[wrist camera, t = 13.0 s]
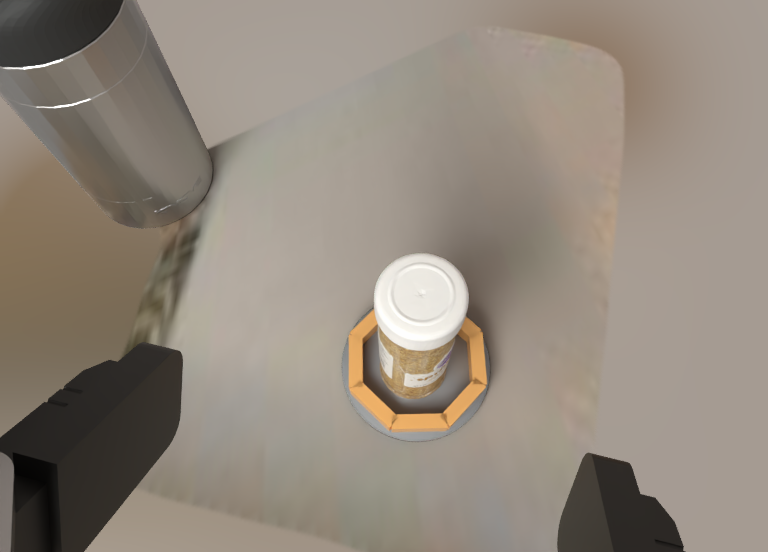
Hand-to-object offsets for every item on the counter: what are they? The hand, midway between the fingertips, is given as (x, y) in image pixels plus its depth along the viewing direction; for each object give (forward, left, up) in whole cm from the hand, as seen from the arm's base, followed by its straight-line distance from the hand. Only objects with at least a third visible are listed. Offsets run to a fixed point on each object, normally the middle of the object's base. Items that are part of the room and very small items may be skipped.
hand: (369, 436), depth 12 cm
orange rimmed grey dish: (-4, +8, -29) cm, 30 cm away
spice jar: (-4, +8, -28) cm, 30 cm away
